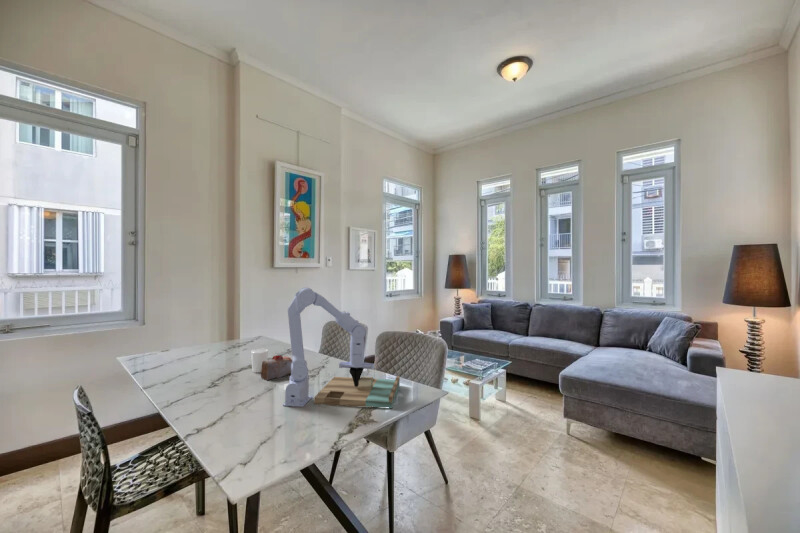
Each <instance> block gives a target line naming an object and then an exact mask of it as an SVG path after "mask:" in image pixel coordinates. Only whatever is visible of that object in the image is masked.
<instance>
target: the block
mask: <svg viewBox="0 0 800 533" xmlns="http://www.w3.org/2000/svg"><path fill="white" fill-rule="evenodd" d="M373 379H374V376H361V377H360V380H359V390H360V391H371V390H372V388H373Z"/></svg>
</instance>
